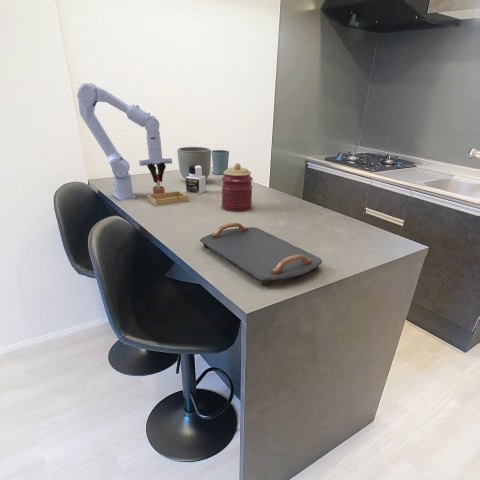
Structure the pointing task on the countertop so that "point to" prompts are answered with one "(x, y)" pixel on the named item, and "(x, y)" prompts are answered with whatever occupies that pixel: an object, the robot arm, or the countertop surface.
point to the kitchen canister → (237, 189)
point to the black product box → (195, 180)
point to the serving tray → (260, 252)
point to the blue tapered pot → (220, 161)
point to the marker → (158, 181)
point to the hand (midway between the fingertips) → (157, 181)
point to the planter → (194, 159)
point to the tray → (167, 198)
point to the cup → (158, 190)
